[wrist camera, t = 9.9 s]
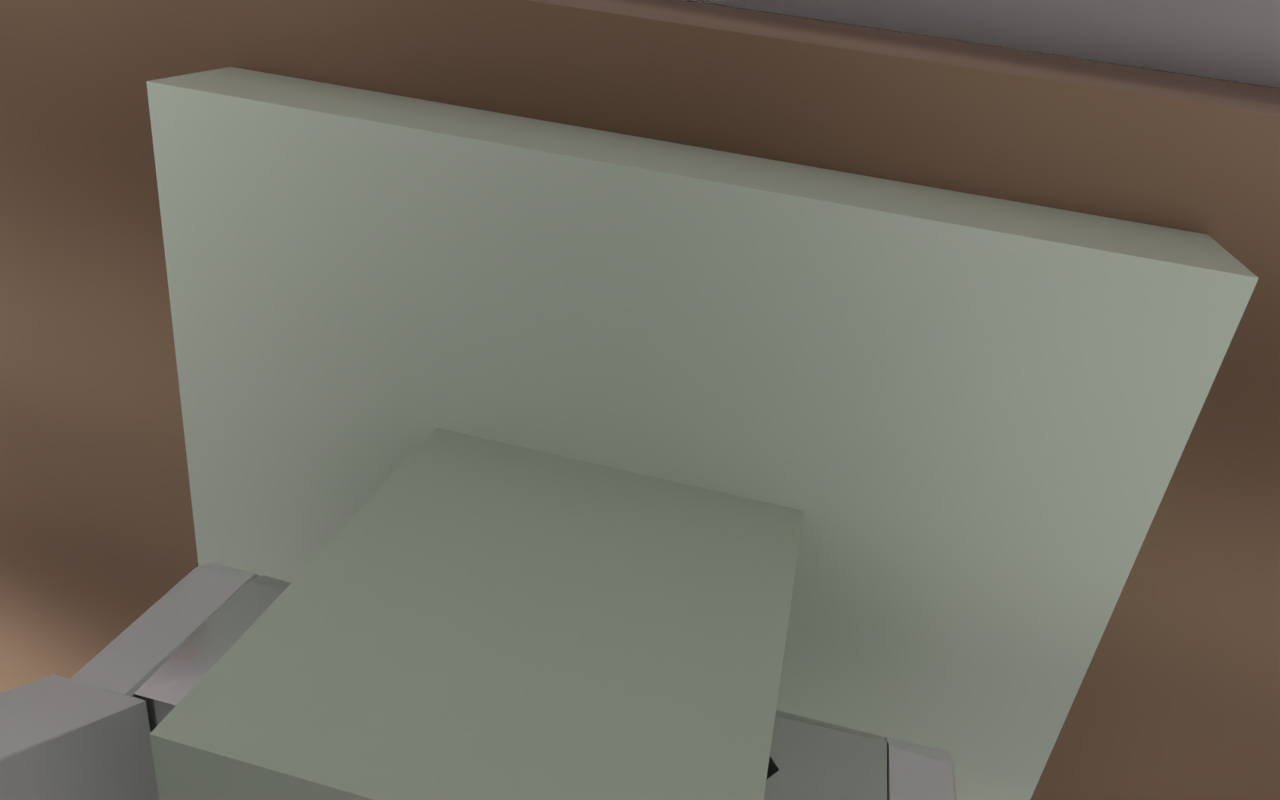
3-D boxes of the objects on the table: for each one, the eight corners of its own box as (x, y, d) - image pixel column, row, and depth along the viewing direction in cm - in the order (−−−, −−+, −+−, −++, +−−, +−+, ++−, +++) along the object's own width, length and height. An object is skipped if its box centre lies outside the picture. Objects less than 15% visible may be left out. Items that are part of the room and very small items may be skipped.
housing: (-19, -105, 12) (-437, -133, 8) (1748, 158, 9) (2377, 302, 5) (129, 774, 19) (-60, 980, 15) (1153, 1082, 16) (1237, 1431, 13)
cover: (230, 66, 9) (-412, 179, 5) (1207, 235, 8) (1659, 623, 3) (276, 738, 13) (-43, 1154, 9) (929, 925, 12) (958, 1534, 7)
